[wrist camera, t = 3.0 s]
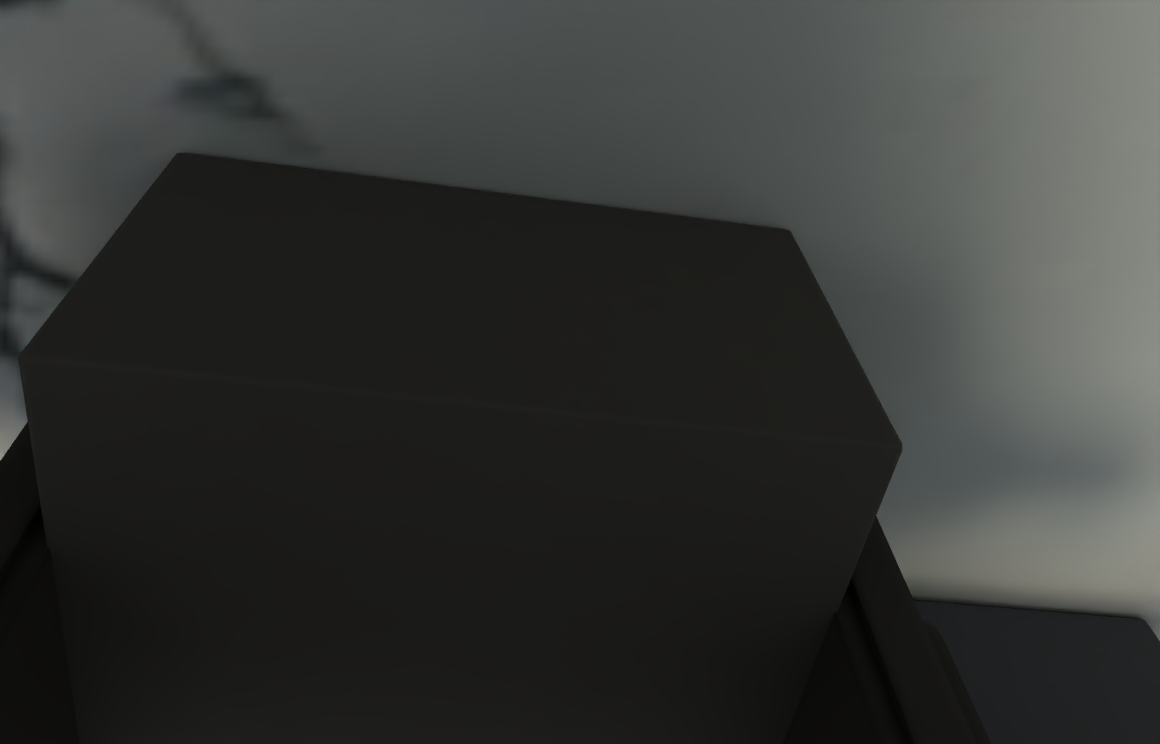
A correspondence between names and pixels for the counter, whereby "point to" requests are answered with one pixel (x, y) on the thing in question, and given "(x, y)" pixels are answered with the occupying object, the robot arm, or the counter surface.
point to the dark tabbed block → (444, 468)
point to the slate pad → (1054, 673)
